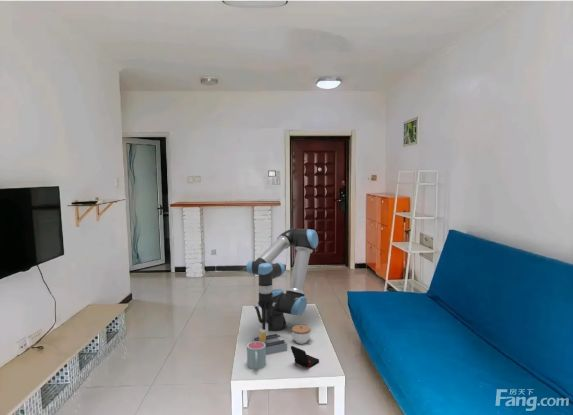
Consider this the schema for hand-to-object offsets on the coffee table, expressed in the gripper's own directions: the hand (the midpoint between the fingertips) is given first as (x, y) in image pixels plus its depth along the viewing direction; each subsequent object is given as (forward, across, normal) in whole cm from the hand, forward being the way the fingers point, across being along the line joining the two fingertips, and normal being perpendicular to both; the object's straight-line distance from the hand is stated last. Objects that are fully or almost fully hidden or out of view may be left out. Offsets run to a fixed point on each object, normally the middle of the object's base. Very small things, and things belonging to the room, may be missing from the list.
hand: (266, 334), depth 201 cm
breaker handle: (+4, -2, 0) cm, 5 cm away
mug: (+9, -11, -16) cm, 21 cm away
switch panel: (+8, +2, 0) cm, 9 cm away
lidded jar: (+9, +22, +1) cm, 23 cm away
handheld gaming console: (+9, +12, -23) cm, 28 cm away
